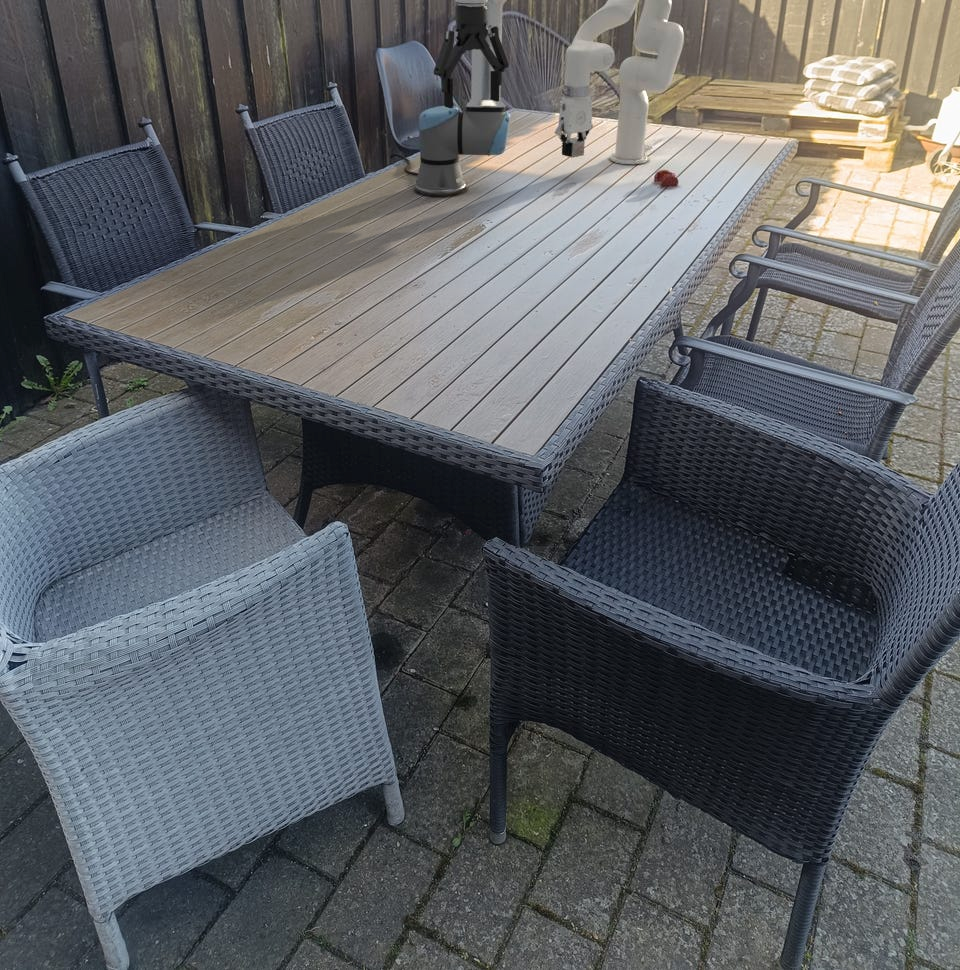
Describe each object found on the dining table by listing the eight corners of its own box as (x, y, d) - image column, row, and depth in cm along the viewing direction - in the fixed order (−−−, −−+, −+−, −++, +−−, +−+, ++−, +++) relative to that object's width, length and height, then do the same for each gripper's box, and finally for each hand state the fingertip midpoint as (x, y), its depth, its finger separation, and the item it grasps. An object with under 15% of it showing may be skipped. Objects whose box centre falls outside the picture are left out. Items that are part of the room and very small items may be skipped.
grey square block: (572, 157, 262) (572, 143, 260) (561, 154, 266) (562, 139, 263) (583, 155, 265) (584, 140, 262) (573, 152, 268) (574, 137, 265)
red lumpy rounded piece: (669, 166, 264) (680, 173, 258) (668, 179, 266) (679, 187, 260) (653, 168, 263) (663, 175, 257) (652, 181, 265) (662, 189, 259)
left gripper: (434, 9, 185) (437, 113, 197) (524, 2, 197) (522, 100, 209) (416, 6, 190) (420, 107, 202) (505, -1, 202) (504, 95, 214)
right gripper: (562, 97, 248) (559, 161, 259) (605, 90, 256) (600, 152, 267) (546, 92, 253) (544, 155, 264) (589, 86, 261) (585, 147, 272)
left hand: (472, 104), depth 206 cm, fingers open, 13 cm apart
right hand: (572, 153), depth 265 cm, fingers closed on grey square block, 4 cm apart
